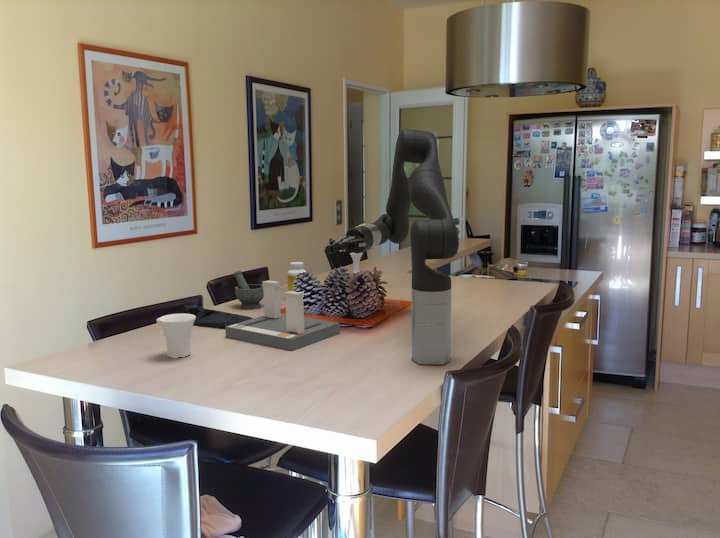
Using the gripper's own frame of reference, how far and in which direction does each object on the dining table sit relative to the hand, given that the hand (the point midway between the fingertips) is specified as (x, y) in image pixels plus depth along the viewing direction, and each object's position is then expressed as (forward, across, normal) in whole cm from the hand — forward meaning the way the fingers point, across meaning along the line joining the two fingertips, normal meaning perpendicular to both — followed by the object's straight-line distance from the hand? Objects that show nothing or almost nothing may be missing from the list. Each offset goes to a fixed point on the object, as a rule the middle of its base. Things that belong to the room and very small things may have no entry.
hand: (328, 249), depth 171 cm
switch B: (+6, -18, +19) cm, 27 cm away
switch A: (+15, -2, +19) cm, 24 cm away
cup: (+39, -20, +20) cm, 48 cm away
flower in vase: (-53, -28, +27) cm, 66 cm away
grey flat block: (+11, -10, +22) cm, 27 cm away
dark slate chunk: (+10, -38, +22) cm, 45 cm away
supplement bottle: (-28, -37, +25) cm, 53 cm away
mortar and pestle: (-10, -43, +23) cm, 50 cm away
